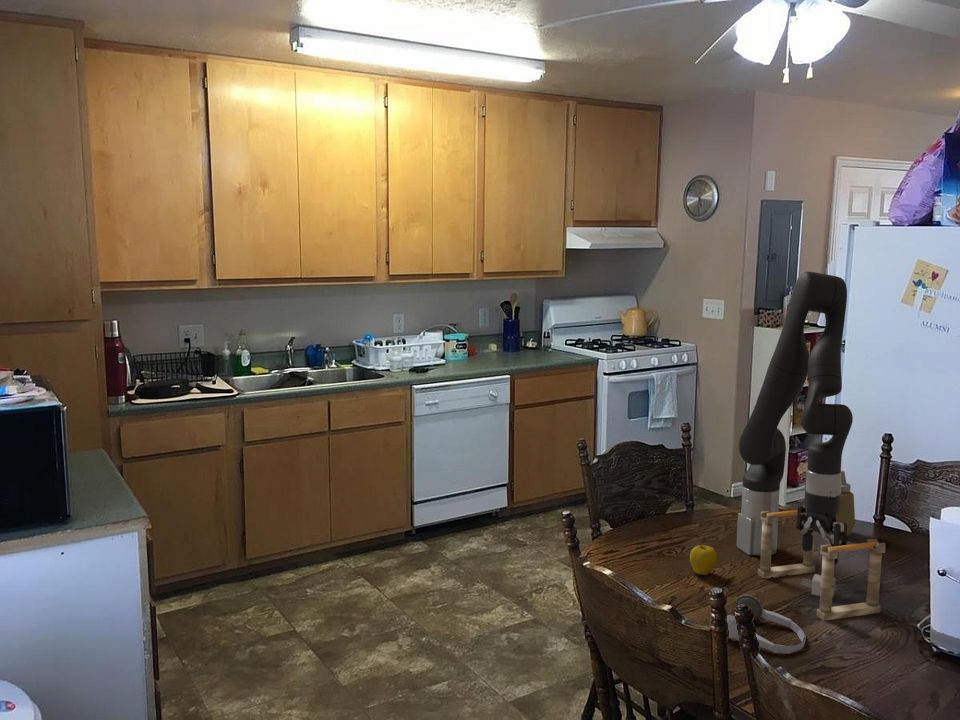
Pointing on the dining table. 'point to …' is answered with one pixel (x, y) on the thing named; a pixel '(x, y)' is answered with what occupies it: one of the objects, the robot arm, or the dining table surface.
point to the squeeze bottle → (846, 505)
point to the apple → (703, 559)
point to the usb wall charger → (816, 585)
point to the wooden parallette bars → (824, 574)
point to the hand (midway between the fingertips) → (819, 557)
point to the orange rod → (854, 546)
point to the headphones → (766, 615)
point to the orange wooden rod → (784, 513)
